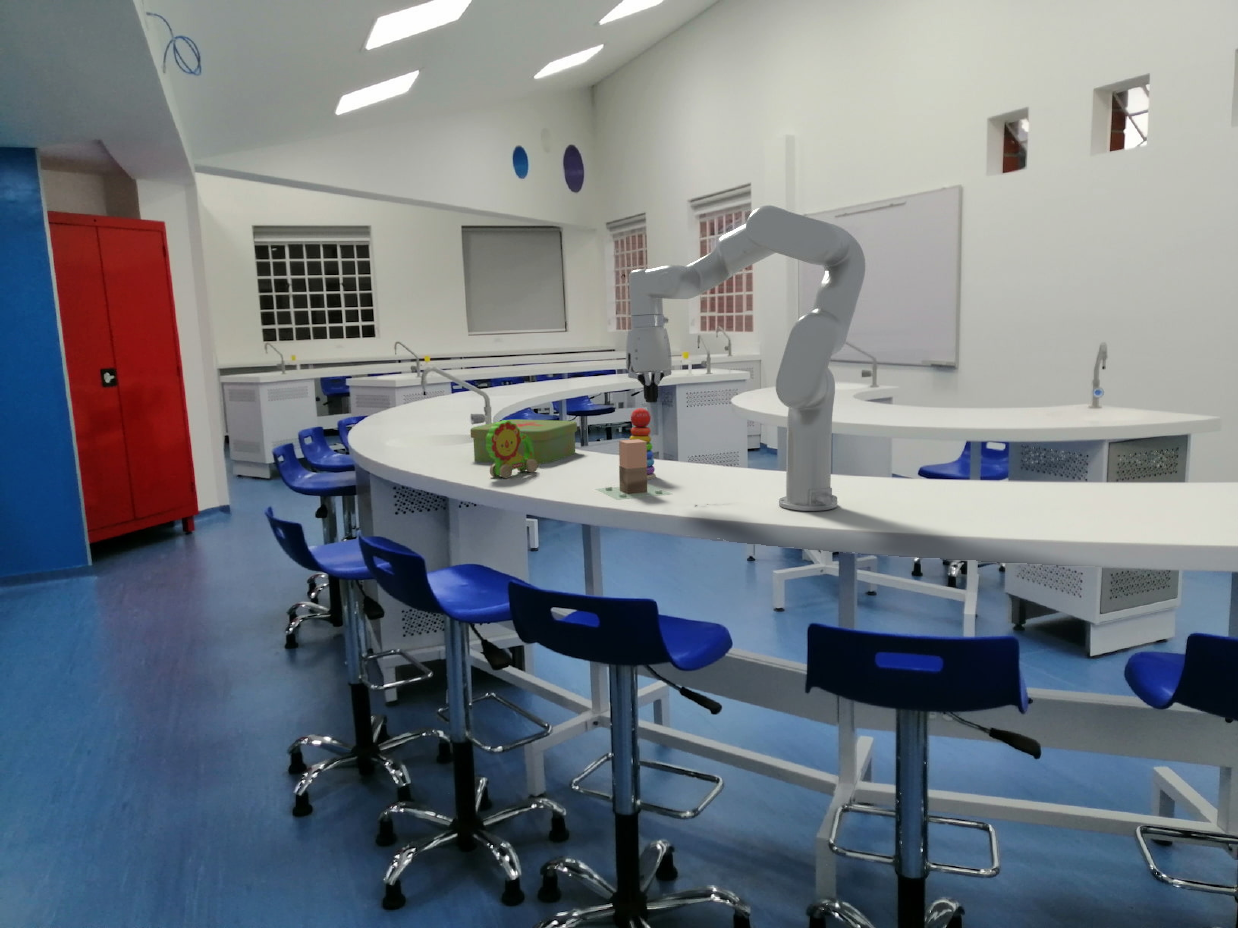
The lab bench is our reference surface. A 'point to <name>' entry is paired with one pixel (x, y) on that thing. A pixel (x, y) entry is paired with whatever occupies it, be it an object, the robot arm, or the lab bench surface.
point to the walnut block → (633, 480)
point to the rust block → (633, 454)
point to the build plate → (618, 494)
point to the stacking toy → (643, 436)
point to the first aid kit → (533, 439)
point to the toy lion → (509, 450)
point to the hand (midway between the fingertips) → (651, 401)
